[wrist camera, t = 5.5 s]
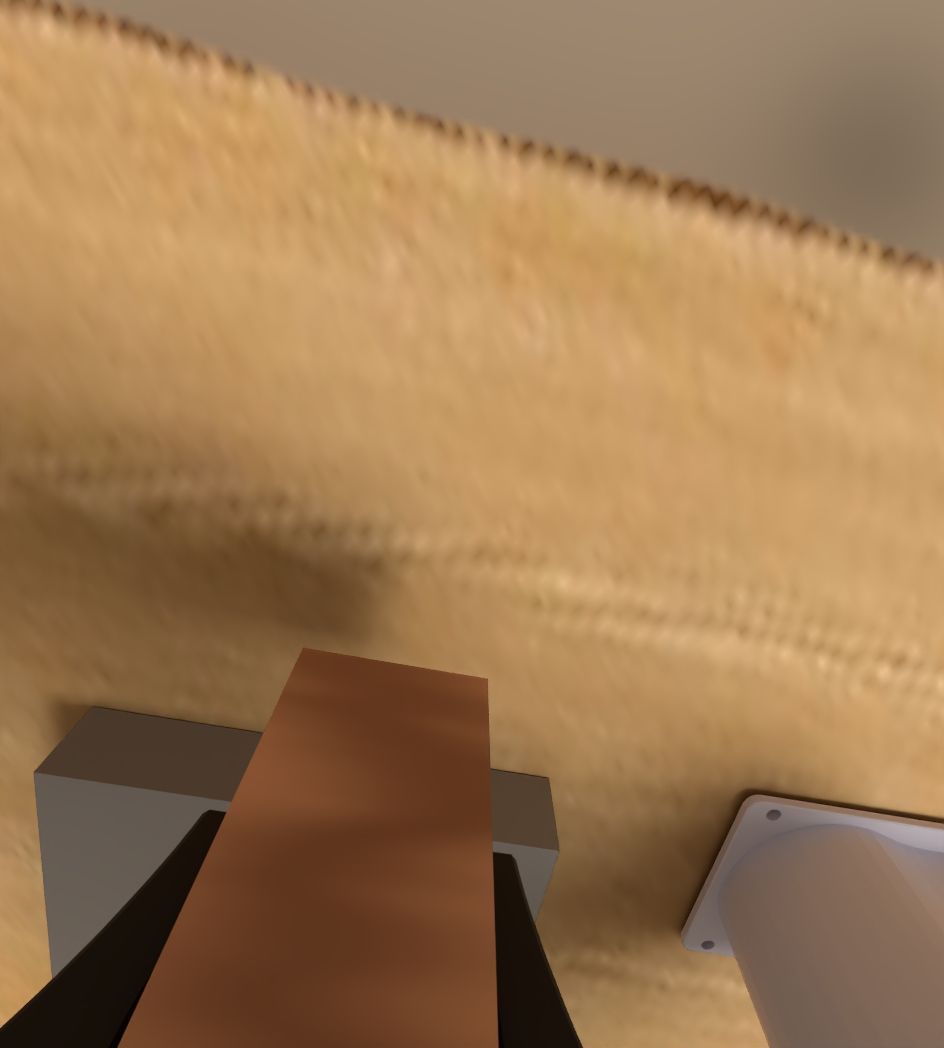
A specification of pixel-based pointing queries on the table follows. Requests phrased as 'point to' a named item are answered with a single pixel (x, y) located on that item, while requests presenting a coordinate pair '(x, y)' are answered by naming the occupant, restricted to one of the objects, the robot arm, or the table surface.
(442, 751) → the square peg
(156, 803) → the socket block
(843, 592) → the table surface
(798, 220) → the table surface
